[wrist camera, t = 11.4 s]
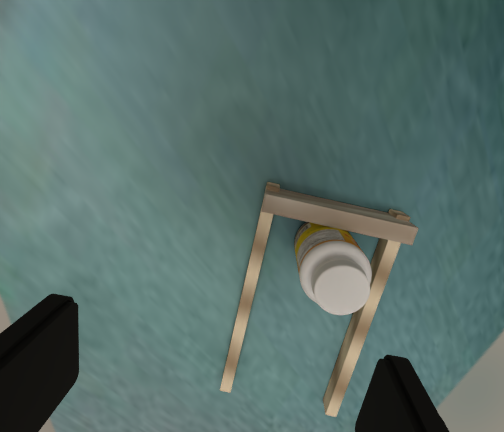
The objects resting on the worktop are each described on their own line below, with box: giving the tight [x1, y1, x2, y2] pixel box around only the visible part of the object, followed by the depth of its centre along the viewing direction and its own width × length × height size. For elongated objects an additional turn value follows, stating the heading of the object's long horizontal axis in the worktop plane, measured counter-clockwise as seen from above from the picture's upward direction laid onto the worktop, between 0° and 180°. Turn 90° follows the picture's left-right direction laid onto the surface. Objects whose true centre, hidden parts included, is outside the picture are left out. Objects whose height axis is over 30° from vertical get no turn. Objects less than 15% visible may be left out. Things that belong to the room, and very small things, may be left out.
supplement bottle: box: [294, 222, 372, 315], centre depth 27 cm, size 6×6×10 cm
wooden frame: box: [220, 182, 418, 417], centre depth 32 cm, size 24×13×4 cm, turn 168°
